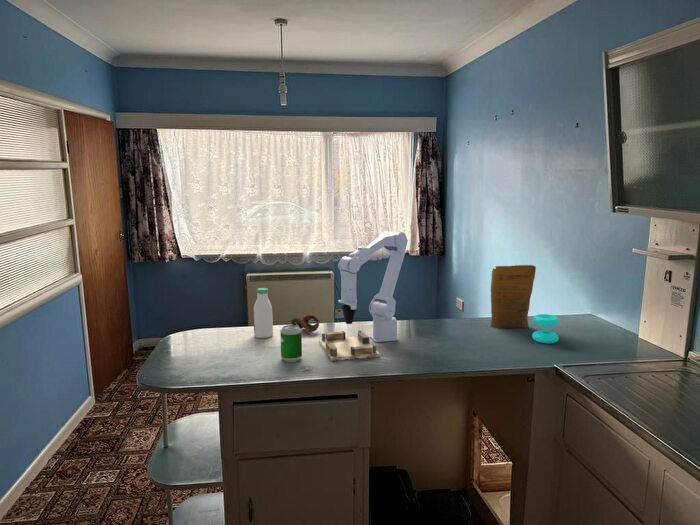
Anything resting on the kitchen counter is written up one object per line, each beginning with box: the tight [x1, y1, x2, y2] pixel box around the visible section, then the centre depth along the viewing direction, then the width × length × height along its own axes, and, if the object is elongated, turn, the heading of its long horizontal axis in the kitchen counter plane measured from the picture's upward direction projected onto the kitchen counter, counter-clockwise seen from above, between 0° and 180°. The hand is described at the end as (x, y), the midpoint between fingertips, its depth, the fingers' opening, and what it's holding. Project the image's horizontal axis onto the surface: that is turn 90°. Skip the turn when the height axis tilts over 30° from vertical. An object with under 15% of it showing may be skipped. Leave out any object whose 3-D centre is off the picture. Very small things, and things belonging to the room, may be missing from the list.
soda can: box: [280, 324, 303, 363], centre depth 177 cm, size 8×8×12 cm
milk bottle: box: [253, 287, 274, 339], centre depth 204 cm, size 8×8×20 cm
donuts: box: [531, 313, 561, 344], centre depth 199 cm, size 10×10×10 cm
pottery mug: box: [290, 314, 320, 335], centre depth 211 cm, size 12×10×8 cm
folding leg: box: [325, 330, 347, 340], centre depth 197 cm, size 8×3×3 cm, turn 107°
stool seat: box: [318, 330, 381, 362], centre depth 189 cm, size 18×22×4 cm
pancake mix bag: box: [490, 264, 537, 330], centre depth 216 cm, size 7×19×28 cm, turn 86°
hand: (348, 323), depth 188 cm, fingers closed
